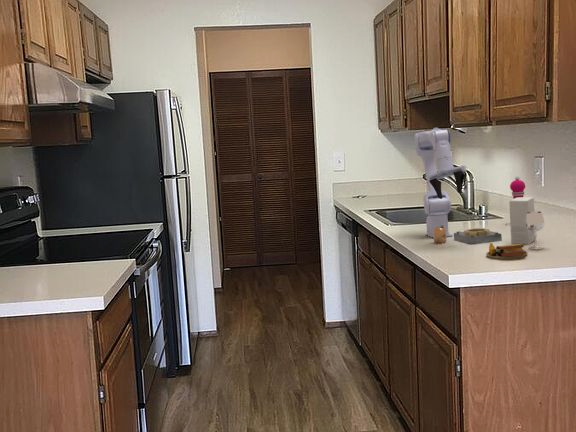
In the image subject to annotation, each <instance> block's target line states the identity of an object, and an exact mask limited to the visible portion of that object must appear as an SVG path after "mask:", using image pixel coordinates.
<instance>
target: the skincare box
mask: <svg viewBox="0 0 576 432" xmlns="http://www.w3.org/2000/svg"><path fill="white" fill-rule="evenodd" d="M508 205H509V221H510V223H509V224H510V243H511V244H510V245H513V244H523V245H530V244H531V243H533V242H535V237H534V231H531V230H529V229H527V227H526V224H525V219H526V214H527V212H534V211H535V197H534V196H529V197H528V196H523V197H518V198H515V199H513V198H512V199H511V200H509V203H508Z"/></svg>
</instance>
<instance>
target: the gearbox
mask: <svg viewBox="0 0 576 432" xmlns="http://www.w3.org/2000/svg"><path fill="white" fill-rule="evenodd" d="M502 237H503V236H502V233H500V232H498V231H492V230H490V229H489V228H484V227H483V228H482V227H481V228H480V227H479V228H468V229H466V230H464V231H459V230H458V231H456V232H453V240H454V239H455V241H459V242H461V243H465V244H469V245H476V244H485V243H493V242H499V241H500V242H501V241H502V240H503V239H502Z"/></svg>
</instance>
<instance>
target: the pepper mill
mask: <svg viewBox="0 0 576 432" xmlns="http://www.w3.org/2000/svg"><path fill="white" fill-rule="evenodd" d="M509 189H510V190H511V191H512V192H511V196H512V199H515V198H518V197H524V195H525V191H524V190H525V189H526V184H525V181H523V180H521V179H520V177H519V176H515V177H514V180H512V182H511V183H510V185H509Z"/></svg>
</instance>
